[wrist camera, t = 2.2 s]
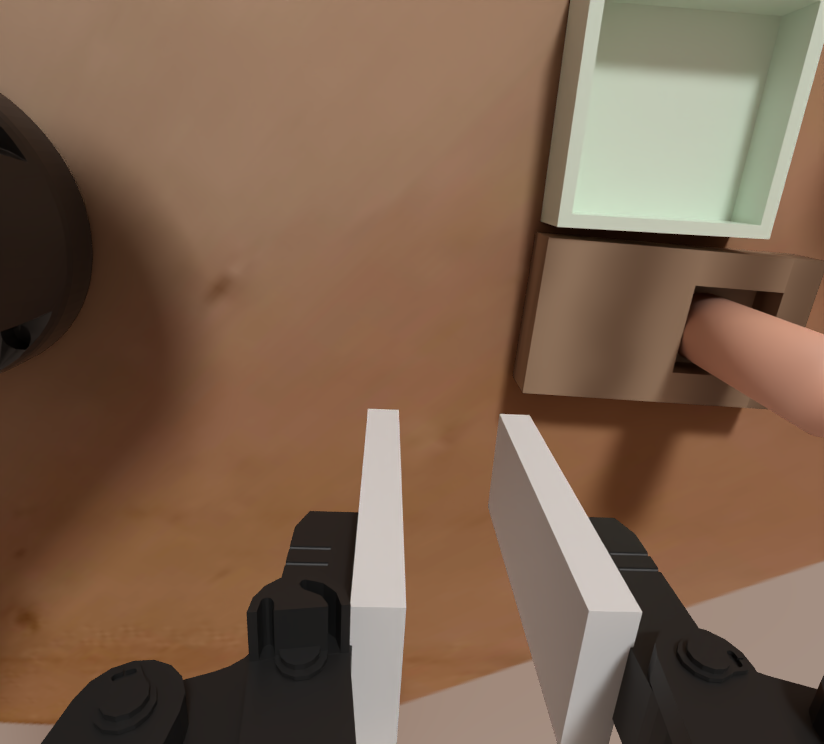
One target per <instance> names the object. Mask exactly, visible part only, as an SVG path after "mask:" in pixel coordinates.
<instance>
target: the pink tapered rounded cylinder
mask: <svg viewBox="0 0 824 744" xmlns="http://www.w3.org/2000/svg"><path fill="white" fill-rule="evenodd" d="M678 354H679V355H681V356H682V357H684V358H686V359H687V360H689V361H691V362H692V363H694V364H695V365H697V366H699V367H700V368H702V369H704V370H705V371H707V372H709V373H710V374H712V375H713V376H715V377H717V378H718V379H720V380H722V381H723V382H725V383H727V384H728V385H730V386H731V387H733V388H735V389H736V390H738V391H740V392H741V393H743V394H745V395H746V396H748V397H749V398H751V399H753V400H754V401H756V402H758V403H759V404H761V405H763V406H764V407H766V408H767V409H769V410H771V411H772V412H774V413H776V414H777V415H779V416H780V417H782V418H784V419H785V420H787V421H789V422H790V423H792V424H794V425H795V426H797V427H798V428H800V429H802V430H803V431H805V432H807V433H809V434H811V435H814V436H818V437H824V334H821V333H818V332H816V331H813V330H810V329H807V328H805V327H802V326H799V325H796V324H794V323H791V322H788V321H785V320H783V319H780V318H777V317H774V316H772V315H769V314H766V313H763V312H761V311H758V310H755V309H752V308H750V307H747V306H744V305H741V304H739V303H736V302H733V301H730V300H728V299H725V298H722V297H719V296H717V295H714V294H711V293H705V292H701V293H695V294H693V297H692V301H691V304H690V308H689V312H688V316H687V319H686V323H685V327H684V331H683V334H682V338H681V342H680V345H679V349H678Z"/></svg>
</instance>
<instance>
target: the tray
mask: <svg viewBox="0 0 824 744" xmlns="http://www.w3.org/2000/svg"><path fill="white" fill-rule="evenodd" d="M823 43H824V0H570V6H569V13H568V21H567V28H566V36H565V43H564V51H563V58H562V65H561V73H560V80H559V88H558V95H557V102H556V110H555V117H554V125H553V132H552V139H551V147H550V154H549V162H548V169H547V177H546V184H545V191H544V199H543V206H542V214H541V222H544V223H547V224H550V225H553V226H556V227H568V228H585V229H602V230H619V231H636V232H653V233H671V234H688V235H705V236H722V237H739V238H756V239H770V235H771V232H772V228H773V225H774V221H775V217H776V214H777V210H778V206H779V203H780V199H781V196H782V192H783V188H784V185H785V181H786V177H787V174H788V170H789V167H790V163H791V159H792V156H793V152H794V148H795V145H796V141H797V138H798V134H799V130H800V127H801V123H802V119H803V116H804V112H805V109H806V105H807V101H808V98H809V94H810V90H811V87H812V83H813V80H814V76H815V72H816V69H817V65H818V62H819V58H820V54H821V51H822V47H823Z"/></svg>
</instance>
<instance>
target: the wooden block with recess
mask: <svg viewBox="0 0 824 744" xmlns="http://www.w3.org/2000/svg"><path fill="white" fill-rule="evenodd" d="M823 274H824V261H823V260H818V259H814V258H809V257H804V256H800V255H795V254H786V253H775V252H763V251H752V250H740V249H728V248H717V247H705V246H694V245H682V244H671V243H659V242H648V241H636V240H625V239H613V238H601V237H590V236H578V235H567V234H555V233H544V232H536V233H535V239H534V246H533V252H532V258H531V264H530V271H529V277H528V283H527V290H526V296H525V302H524V308H523V315H522V321H521V327H520V334H519V340H518V346H517V352H516V359H515V365H514V371H513V378H514V379H515V381H516V383H517V384H518V386H519V388H520V389H521V391H522V393H530V394H545V395H560V396H575V397H590V398H605V399H620V400H636V401H651V402H666V403H681V404H696V405H711V406H726V407H741V408H756V409H767V408H766V407H764V406H763V405H761V404H759V403H758V402H756V401H754V400H753V399H751V398H749V397H748V396H746V395H745V394H743V393H741V392H740V391H738V390H736V389H735V388H733V387H731V386H730V385H728V384H727V383H725V382H723V381H722V380H720V379H718V378H717V377H715V376H713V375H712V374H710V373H709V372H707V371H705V370H704V369H702V368H700V367H699V366H697V365H695V364H694V363H692V362H691V361H689V360H687V359H686V358H684V357H682V356H681V355H679V354H678V349H679V345H680V342H681V338H682V334H683V331H684V327H685V323H686V319H687V316H688V312H689V308H690V304H691V301H692V297H693V294H695V293H701V292H705V293H711V294H714V295H717V296H719V297H722V298H725V299H728V300H730V301H733V302H736V303H739V304H741V305H744V306H747V307H750V308H752V309H755V310H758V311H761V312H763V313H766V314H769V315H772V316H774V317H777V318H780V319H783V320H785V321H788V322H791V323H794V324H796V325H799V326H802V327H805V326H806V323H807V320H808V318H809V315H810V312H811V309H812V306H813V303H814V300H815V297H816V294H817V292H818V289H819V286H820V283H821V280H822V277H823Z"/></svg>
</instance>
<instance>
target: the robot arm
mask: <svg viewBox="0 0 824 744" xmlns="http://www.w3.org/2000/svg"><path fill="white" fill-rule="evenodd" d="M91 271H92V239H91V231H90V226H89V221H88V217H87V213H86V209H85V206H84V203H83V200H82V197H81V195H80V192H79V190H78V187H77V185H76V183H75V181H74V179H73V177H72V175H71V173H70V171H69V169H68V168H67V166H66V164H65V162H64V161H63V159H62V158H61V156H60V154H59V153H58V151H57V150H56V149H55V147H54V146H53V145H52V143H51V142H50V140H49V139H48V138H47V137H46V136H45V134H44V133H43V132H42V131H41V130H40V128H39V127H38V126H37V125H36V124H35V123H34V122H33V121H32V120H31V119H30V118H29V117H28V116H27V115H26V114H25V113H24V112H23V111H22V110H21V109H20V108H19V107H17V106H16V105H15V104H14V103H13V102H11V101H10V100H9V99H8V98H6V97H5V96H4V95H2V94H1V93H0V373H2V372H4V371H6V370H8V369H11V368H13V367H15V366H17V365H18V364H20V363H22V362H24V361H26V360H28V359H30V358H32V357H34V356H36V355H38V354H39V353H41V352H43V351H44V350H46V349H47V348H48V347H50V346H51V345H52V344H54V343H55V342H56V341H57V340H58V339H59V338H60V337H61V336H62V335H63V334H64V333H65V332H66V331H67V329H68V328H69V327H70V326H71V324H72V323H73V321H74V320H75V318H76V317H77V315H78V313H79V311H80V309H81V307H82V305H83V302H84V300H85V297H86V294H87V291H88V288H89V283H90V279H91ZM488 508H489V512H490V515H491V519H492V522H493V526H494V529H495V532H496V536H497V539H498V543H499V546H500V549H501V553H502V556H503V560H504V563H505V566H506V570H507V573H508V577H509V580H510V584H511V587H512V590H513V594H514V597H515V601H516V604H517V607H518V611H519V614H520V618H521V621H522V625H523V628H524V631H525V635H526V638H527V642H528V645H529V648H530V652H531V655H532V659H533V662H534V666H535V669H536V672H537V676H538V679H539V682H540V686H541V689H542V693H543V696H544V700H545V703H546V706H547V710H548V713H549V717H550V720H551V723H552V727H553V730H554V734H555V737H556V741H557V744H609V740H610V736H611V732H612V729H613V725H614V724H615V727H616V729H617V732H618V734H619V737H620V739H621V742H622V744H824V676H823V678H822V680H821V682H820V685H819V687H818V689H814V688H811V687H807V686H803V685H800V684H796V683H792V682H789V681H785V680H781V679H778V678H774V677H770V676H767V675H764V674H761V673H758V672H757V671H756V670H755V668H754V667H753V666H752V664H751V663H750V662H749V661H748V659H747V658H746V657H745V656H744V654H743V653H742V652H741V651H739V650H738V649H737V648H736V647H734V646H733V645H732V644H730V643H729V642H728V641H726V640H725V639H723V638H721V637H719V636H717V635H715V634H713V633H711V632H709V631H707V630H703V629H699V628H698V626H697V625H696V623H695V622H694V621H693V619H692V618H691V616H690V615H689V613H688V612H687V610H686V609H685V607H684V606H683V604H682V603H681V601H680V600H679V598H678V597H677V595H676V594H675V592H674V591H673V589H672V588H671V587H670V585H669V584H668V582H667V581H666V579H665V578H664V576H663V575H662V573H661V572H658V567H657V566H656V564H655V563H654V561H653V560H652V558H651V557H650V556H648V553H647V551H646V550H645V548H644V547H643V545H642V544H641V542H640V541H639V539H638V538H637V536H636V535H635V534H634V533H633V532H632V531H630V530H629V529H628V528H627V527H625V526H624V525H623V524H621V523H620V522H619V521H618V520H616V519H615V518H596V517H588V516H587V515H586V513H585V511H584V509H583V508H582V506H581V504H580V502H579V501H578V499H577V497H576V495H575V494H574V492H573V490H572V489H571V487H570V485H569V483H568V482H567V480H566V478H565V476H564V475H563V473H562V471H561V469H560V468H559V466H558V464H557V462H556V461H555V459H554V457H553V455H552V454H551V452H550V450H549V448H548V447H547V445H546V443H545V441H544V440H543V438H542V436H541V434H540V433H539V431H538V429H537V427H536V426H535V424H534V422H533V420H532V419H531V417H530V415H515V414H500V415H499V423H498V431H497V439H496V447H495V455H494V463H493V471H492V479H491V487H490V495H489V503H488ZM405 616H406V592H405V565H404V538H403V511H402V484H401V457H400V430H399V410H386V409H368V416H367V427H366V438H365V449H364V460H363V470H362V481H361V492H360V503H359V513H357V512H322V511H310V512H309V513H308V514H307V515H306V516H305V517H304V518H303V519H302V520H301V521H300V522H299V523H298V524H297V525H296V527H295V529H294V533H293V537H292V541H291V544H290V549H289V552H288V556H287V559H286V566H285V567H284V571H283V574H282V578H280V579H278V580H276V581H274V582H272V583H270V584H268V585H266V586H264V587H263V588H262V589H261V590H260V591H259V592H258V593H257V594H256V595H255V596H254V597H253V599H252V601H251V603H250V606H249V608H248V611H247V627H248V645H249V654H248V655H247V656H246V657H245V658H243V659H242V660H240V661H238V662H236V663H235V664H233V665H231V666H229V667H226V668H223V669H221V670H218V671H215V672H211V673H208V674H204V675H200V676H196V677H193V678H189V679H185V680H183V679H182V676H181V675H180V674H179V673H178V672H177V671H176V670H175V669H174V668H173V667H172V666H171V665H169V664H166V663H163V662H159V661H156V660H143V661H132V662H129V663H126V664H123V665H120V666H117V667H114V668H111V669H110V670H108V671H107V672H105V673H103V674H102V675H100V676H99V677H97V678H95V679H94V680H92V681H91V682H89V683H88V685H87V686H86V687H85V688H84V689H83V690H82V691H81V692H80V693H79V694H78V695H77V696H76V697H75V698H74V699H73V700H72V702H71V703H70V704H69V706H68V707H67V709H66V710H65V711H64V713H63V714H62V715H61V717H60V718H59V720H58V721H57V722H56V724H55V725H54V726H53V728H52V729H51V731H50V732H49V733H48V735H47V736H46V738H45V739H44V740H43V742H42V743H41V744H397V729H398V715H399V702H400V688H401V673H402V659H403V645H404V630H405Z"/></svg>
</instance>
